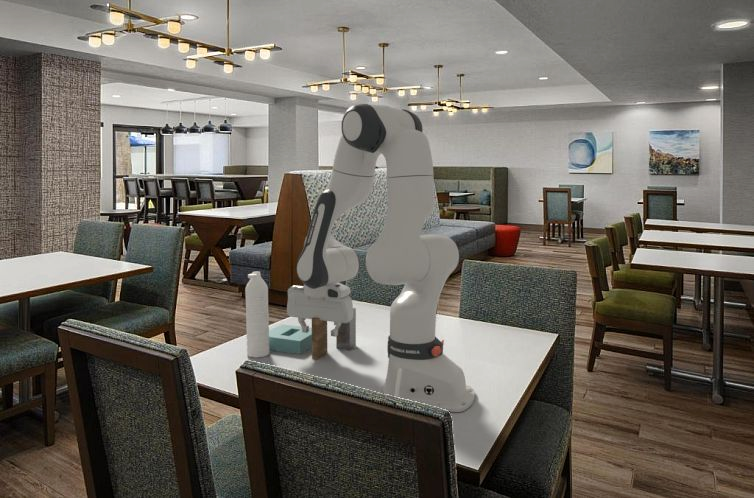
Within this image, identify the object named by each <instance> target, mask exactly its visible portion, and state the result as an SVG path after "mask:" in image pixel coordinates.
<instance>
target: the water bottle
mask: <svg viewBox="0 0 754 498" xmlns="http://www.w3.org/2000/svg"><path fill="white" fill-rule="evenodd" d="M247 279H249V281H248V282H247V284H246V286H245V288H244V289H245V290H244V291H245V312H246V314H245V319H246V322H245V324H246V325H245V326H246V331H245V332H246V355H247V356H248V357H250V358H254V359H256V358H257V359H258V358H265V357H267V356H268V355H270V351H271V350H269V331H270V327H269V326H270V325H269V324H270V323H269V287H268V285H267V283H266V282H265V280H264V279H263V278H262V274H261V271H255V270H254V271H252V272H251V273H249V274H247Z"/></svg>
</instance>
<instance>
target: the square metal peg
mask: <svg viewBox="0 0 754 498" xmlns="http://www.w3.org/2000/svg"><path fill="white" fill-rule="evenodd" d="M356 311H357V308H355V307H353V319H352V320H351V321H350V322H348V323H341V326H340V327H339V329H338V335H337V336H336V337H335V338H336V339H335V341H336V349H338V350H339V349H340V350H346V351H351V350H352V349H353V348H355V347H356V346H357V345H356V344H357V343H356V341H357V340H356V339H357V334H356V332H357V331H356V330H357V329H356V326H357V321H356V319H357V312H356Z"/></svg>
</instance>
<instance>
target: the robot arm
mask: <svg viewBox="0 0 754 498" xmlns="http://www.w3.org/2000/svg"><path fill="white" fill-rule="evenodd" d="M423 130H424V129H423V125H422V121H421V119H420V118H419V117H418V115H416V113H413V112H412V111H410V110H407V109H402V108H401V109H399V108H396V107H391V106H389V105H385V104H384V105H383V104H368V103H360V104H359V103H358V104H355V105H352V106H350V107H349V108H348V109H346V111H345V112H344V114H343V117H342V121H341V135H340V139H339V141H338V145H337V148H336V151H335V155H334V159H333V163H332V165H333V166H332V169H331V170H332V172H331V176H330V179H329V181H328V184H327V185H326V187H325V189H324V190H323V191H322V193H320V195H319V196H318V198H317V201H316V202H315V203H316V204H315V206H314V210H313V214H312V216H311V219H310V220H311V221H310V223H309V228H308V231H307V235H306V236H305V240H304V243H303V249H302V251H301V253H300V255H299V256H298V258H297V262H296V266H295V267H296V268H295V269H296V274H297V277H298V279H299V281H300V282H301V283H302V284H303V286H302V285H292V286H290V287H289V288H288V289H287V305H286V314H287V315H288V317H289V318H290V317H291V318H297V321H298V324H300V327H302V332H303V333H307V332H309V328H310V325H307V323H306V321H305V320H306V319H307V320H312V318H320V320H322V321H327V322H332V323H333V325H334V326H335V327H334V328H333V329H330V337H335V338H336V336H337V335H338V329H339V327H340V326H341V323H348V322H350V321H351V320H352V319H353V308H354V306H353V299H352V298H351V296H350V294H351V288H350V287H349V286H347V285H345V284H342V283H341V282H345V281H349V280H352V279H355V278H356V277H357V276H358V274H359V271H360V267H361V266H360V265H361V262H360V257H359V255H358V252H357V251H355V249H354V248H352V247H350V246H346V245H345V244H342V243H341V242H340V241H338V240H336V238H335V237H334V235H333V233H332V230H333V227H334V224H335V223H336V222H337V220H338V219H339V218H340V217H341V216H342V215H343V214H345V213H346V212H348V211H350V210H351V209H354V208H356V207H357V206H360V205H361V204H363V203H364V202H366V200H367V199H368V198H369V197H370V194H371V192H372V189H373V185H374V180H375V174H376V166H377V160H378V158H379V157H380V155H383V157H384V159H385V163H386V190H387V197H386V198H387V203H386V204H387V206H386V207H387V208H386V216H385V217H386V218H385V221H384V224H383V227H382V230H381V232H380V234H379V236H378V237H377V239H376V241H374V243H373V244H372V245H371V246H370V247H369V249H368V250H367V253H366V257H365V268H366V271H367V273H368V276H369V277H370V278H371V279H372V281H374V282H375V283H377V284H379V285H387V286H400V285H404V286H403V288H402V290H401V292H400V294H399V295H398V296H397V297H396V298H395V299H394V301H392V303H391V305H390V310H389V313H390V314H389V335H388V338H387V346H386V347H387V349H386V350H387V359H388V365H387V370H386V378H385V382H384V386H383V388H382V394H383V393H385V394H389V395H392V396H396V397H400V398H404V399H409V400H412V401H417V402H420V403H425V404H428V405H431V406H436V407H439V408H442V409H446V410H448V411H447V412H449V411H450V412H451V413H462V412H464V411H466V410H468V409H469V408H470V407H471V406H472V405H473V403H474V401H475V399H476V395H475V392H476V391H475V389H474V388H473V387H472V386H471V385H467V384H466V382H467V381H466V376H465V373H464V371H463V369H462V368H461V367H460V366H459V365H458V364H457V363H455V362H454V361H453V360H451V359H450V358H449V357H448V356H447V355H446V354H445V353H444V345H445V343H444V342H445V341H444V340H445V339H442V340H440V339H438V337H436V325H437V323H436V321H437V309H438V304H439V301H440V300H439V299H440V297H441V293H442V291H443V289H444V286H445V284H446V281H447V279H449V277H450V275H451V274H452V273H453V272H454V271H455V270H456V268H457V266H458V265H459V260H460V252H459V249H458V246H457V244H456V242H455V241H454V240H453V239H452V238H450V237H449V236H445V235H441V234H435V233H434V234H433V233H429V234H422V235H421V233H422V228H423V226H424V223H425V222H426V220H427V218H429V217H430V216H431V215H432V213H433V212H434V210H435V207H436V205H435V204H436V203H435V202H436V201H435V180H434V179H435V178H434V176H435V175H434V165H433V164H434V163H433V158H432V157H433V156H432V152H431V147H430V142H429V139H428V137H427V135H426V134H425V133H424V132H423Z"/></svg>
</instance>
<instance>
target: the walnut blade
mask: <svg viewBox="0 0 754 498" xmlns="http://www.w3.org/2000/svg"><path fill="white" fill-rule="evenodd" d="M311 328H312V347H311V359H312V360H319V359H321V358H322V357H324V356H325V355H327V354H328V321H322V320H320V318H312V319H311Z"/></svg>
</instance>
